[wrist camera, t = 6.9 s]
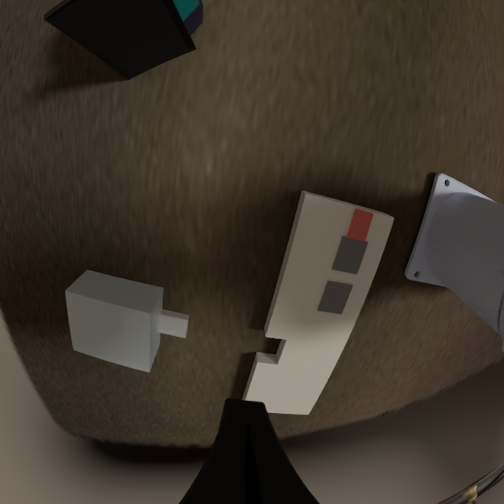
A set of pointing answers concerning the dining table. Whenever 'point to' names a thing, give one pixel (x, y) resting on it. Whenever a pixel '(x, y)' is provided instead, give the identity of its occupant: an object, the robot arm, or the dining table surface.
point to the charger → (120, 319)
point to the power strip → (316, 299)
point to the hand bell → (471, 494)
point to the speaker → (130, 30)
